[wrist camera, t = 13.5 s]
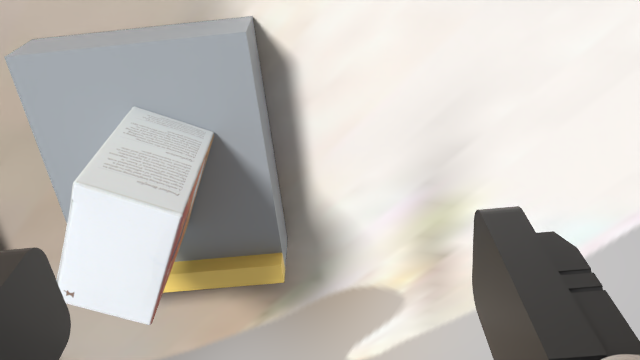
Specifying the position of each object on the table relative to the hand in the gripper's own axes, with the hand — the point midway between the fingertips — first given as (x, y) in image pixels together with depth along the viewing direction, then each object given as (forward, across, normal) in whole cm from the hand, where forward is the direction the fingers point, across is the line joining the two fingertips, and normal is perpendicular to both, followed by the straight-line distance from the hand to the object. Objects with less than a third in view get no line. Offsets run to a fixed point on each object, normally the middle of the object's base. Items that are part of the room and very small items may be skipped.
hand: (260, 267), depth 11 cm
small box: (+26, +11, +11) cm, 30 cm away
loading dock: (+30, +11, +11) cm, 34 cm away
